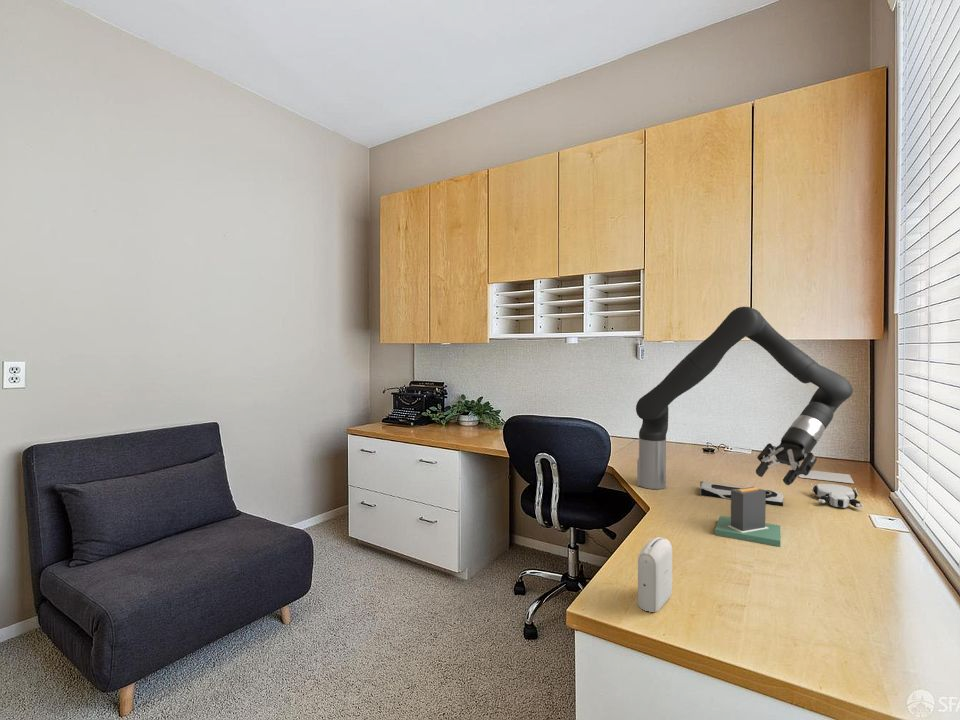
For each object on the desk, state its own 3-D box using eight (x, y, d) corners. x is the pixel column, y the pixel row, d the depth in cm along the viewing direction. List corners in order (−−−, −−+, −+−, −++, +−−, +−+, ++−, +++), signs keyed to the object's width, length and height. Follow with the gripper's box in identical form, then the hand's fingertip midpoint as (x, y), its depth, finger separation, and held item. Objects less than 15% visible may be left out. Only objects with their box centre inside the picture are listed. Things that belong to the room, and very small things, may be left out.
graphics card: (700, 480, 173) (782, 490, 160) (700, 489, 173) (782, 500, 161) (697, 487, 164) (784, 498, 152) (697, 497, 164) (784, 509, 152)
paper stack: (858, 492, 168) (858, 490, 168) (773, 482, 181) (773, 480, 181) (849, 476, 187) (849, 474, 187) (774, 468, 200) (774, 466, 200)
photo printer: (656, 616, 92) (656, 552, 92) (634, 608, 95) (634, 546, 95) (674, 594, 100) (675, 535, 100) (654, 587, 103) (654, 530, 103)
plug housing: (742, 531, 129) (743, 492, 129) (730, 525, 133) (731, 488, 132) (765, 527, 131) (765, 489, 131) (752, 522, 135) (753, 485, 135)
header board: (715, 534, 131) (715, 516, 131) (719, 520, 141) (719, 503, 141) (780, 546, 123) (780, 527, 123) (780, 530, 133) (780, 512, 133)
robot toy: (865, 516, 147) (854, 498, 160) (866, 501, 146) (855, 485, 159) (816, 510, 152) (810, 493, 165) (817, 496, 152) (810, 480, 165)
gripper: (773, 422, 143) (742, 464, 140) (820, 430, 130) (787, 477, 126) (787, 439, 145) (756, 480, 142) (835, 448, 131) (802, 495, 128)
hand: (771, 478), depth 134 cm, fingers open, 8 cm apart
